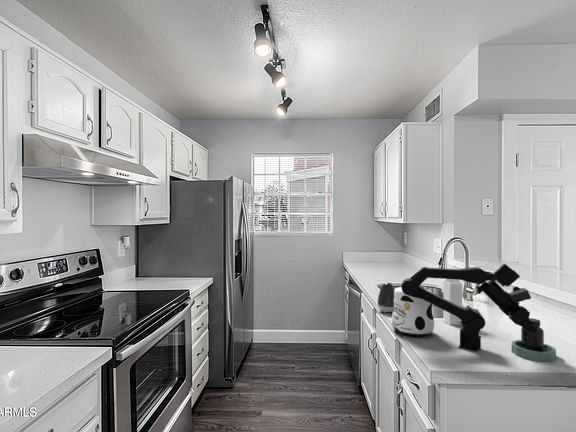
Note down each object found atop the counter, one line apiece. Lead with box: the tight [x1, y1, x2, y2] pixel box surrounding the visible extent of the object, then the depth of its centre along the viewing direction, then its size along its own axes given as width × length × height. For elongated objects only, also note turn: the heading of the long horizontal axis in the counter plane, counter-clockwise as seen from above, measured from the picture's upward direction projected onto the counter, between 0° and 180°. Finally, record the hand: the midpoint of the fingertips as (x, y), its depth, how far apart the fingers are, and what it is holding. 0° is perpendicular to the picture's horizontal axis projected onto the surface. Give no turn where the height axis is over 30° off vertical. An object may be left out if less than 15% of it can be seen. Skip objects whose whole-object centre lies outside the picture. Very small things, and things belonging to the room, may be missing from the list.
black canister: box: [377, 282, 395, 313], centre depth 192 cm, size 10×10×15 cm
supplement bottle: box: [520, 317, 545, 352], centre depth 133 cm, size 7×7×12 cm
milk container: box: [391, 286, 435, 337], centre depth 157 cm, size 17×17×18 cm
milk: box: [442, 279, 463, 326], centre depth 172 cm, size 6×6×22 cm
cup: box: [511, 339, 557, 363], centre depth 132 cm, size 13×13×3 cm
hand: (531, 327), depth 133 cm, fingers open, 9 cm apart
